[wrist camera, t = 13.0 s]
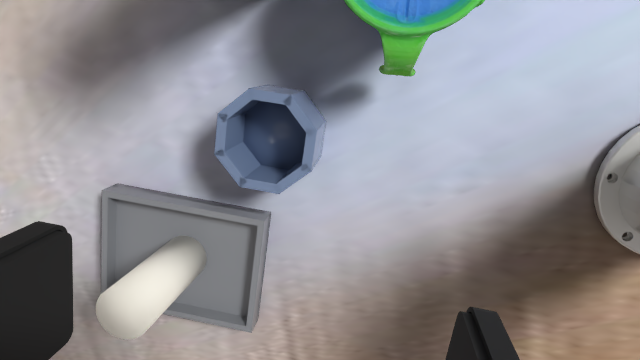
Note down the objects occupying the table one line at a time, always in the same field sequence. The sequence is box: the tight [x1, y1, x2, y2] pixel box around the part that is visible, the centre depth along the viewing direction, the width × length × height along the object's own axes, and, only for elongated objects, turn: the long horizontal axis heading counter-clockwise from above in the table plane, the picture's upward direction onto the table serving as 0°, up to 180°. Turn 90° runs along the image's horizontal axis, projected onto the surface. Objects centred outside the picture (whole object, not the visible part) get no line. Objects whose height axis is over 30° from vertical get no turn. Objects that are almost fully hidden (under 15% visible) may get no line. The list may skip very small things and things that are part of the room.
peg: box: [96, 236, 207, 340], centre depth 38 cm, size 4×4×11 cm
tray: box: [101, 184, 271, 333], centre depth 43 cm, size 16×12×2 cm
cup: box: [214, 85, 326, 194], centre depth 37 cm, size 8×8×6 cm
